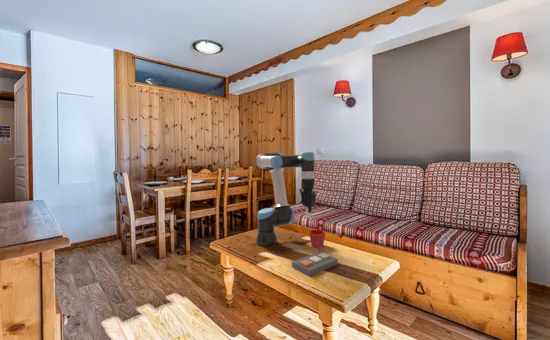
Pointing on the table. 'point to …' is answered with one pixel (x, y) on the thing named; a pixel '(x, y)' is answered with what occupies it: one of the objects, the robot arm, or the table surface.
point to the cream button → (315, 259)
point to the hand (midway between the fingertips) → (308, 217)
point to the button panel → (315, 264)
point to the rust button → (305, 262)
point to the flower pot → (317, 238)
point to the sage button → (323, 256)
